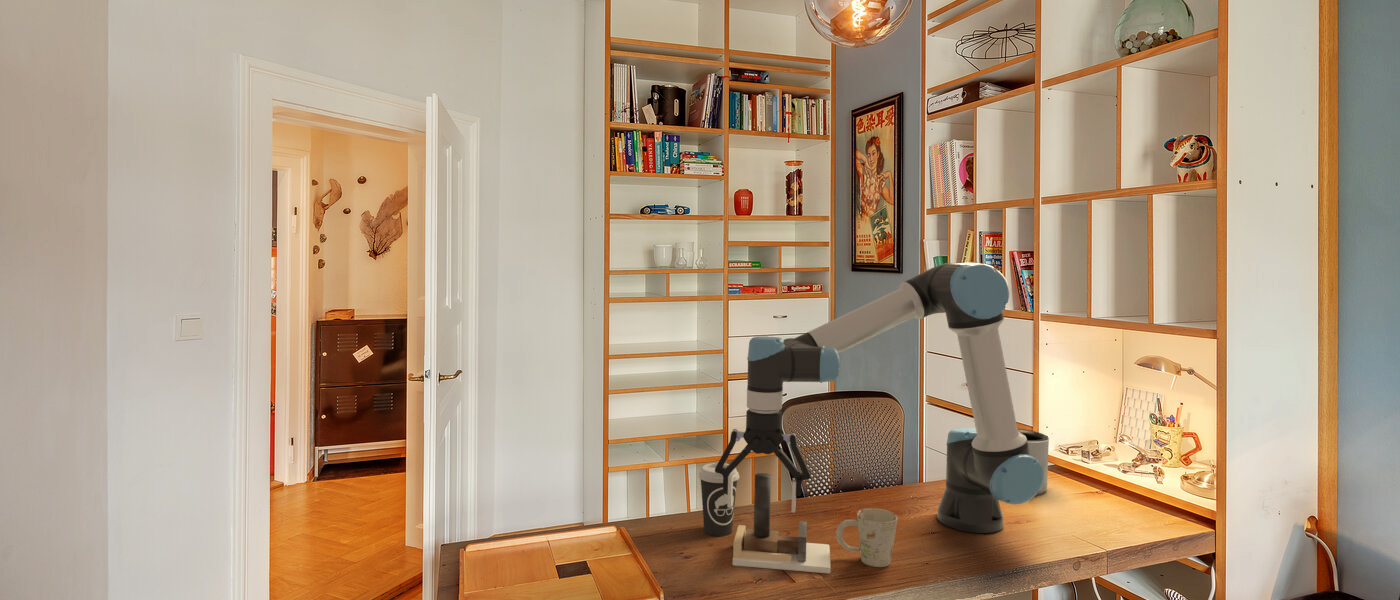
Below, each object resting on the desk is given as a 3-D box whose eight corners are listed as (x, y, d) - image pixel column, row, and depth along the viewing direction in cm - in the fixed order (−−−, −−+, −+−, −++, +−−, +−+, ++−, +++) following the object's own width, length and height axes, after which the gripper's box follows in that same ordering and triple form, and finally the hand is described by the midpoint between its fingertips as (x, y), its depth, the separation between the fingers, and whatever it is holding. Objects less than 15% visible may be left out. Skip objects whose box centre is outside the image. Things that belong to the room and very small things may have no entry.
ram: (806, 544, 153) (808, 472, 153) (805, 561, 145) (807, 484, 144) (747, 539, 156) (748, 468, 155) (743, 556, 147) (744, 480, 146)
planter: (1042, 501, 189) (1045, 444, 188) (980, 489, 198) (982, 435, 197) (1050, 485, 202) (1052, 432, 201) (991, 475, 211) (993, 424, 210)
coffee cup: (743, 526, 167) (744, 464, 166) (731, 541, 158) (733, 475, 157) (705, 521, 170) (706, 460, 170) (691, 535, 161) (692, 471, 160)
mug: (897, 571, 144) (898, 523, 143) (835, 565, 146) (836, 518, 146) (894, 555, 152) (895, 510, 151) (835, 549, 154) (836, 505, 154)
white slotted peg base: (829, 549, 154) (829, 530, 154) (830, 573, 142) (830, 552, 142) (738, 542, 157) (739, 523, 157) (732, 565, 146) (732, 544, 145)
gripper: (823, 409, 151) (820, 506, 152) (708, 403, 155) (706, 497, 156) (824, 416, 143) (820, 518, 144) (703, 409, 147) (701, 509, 148)
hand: (761, 508), depth 150 cm, fingers open, 13 cm apart
